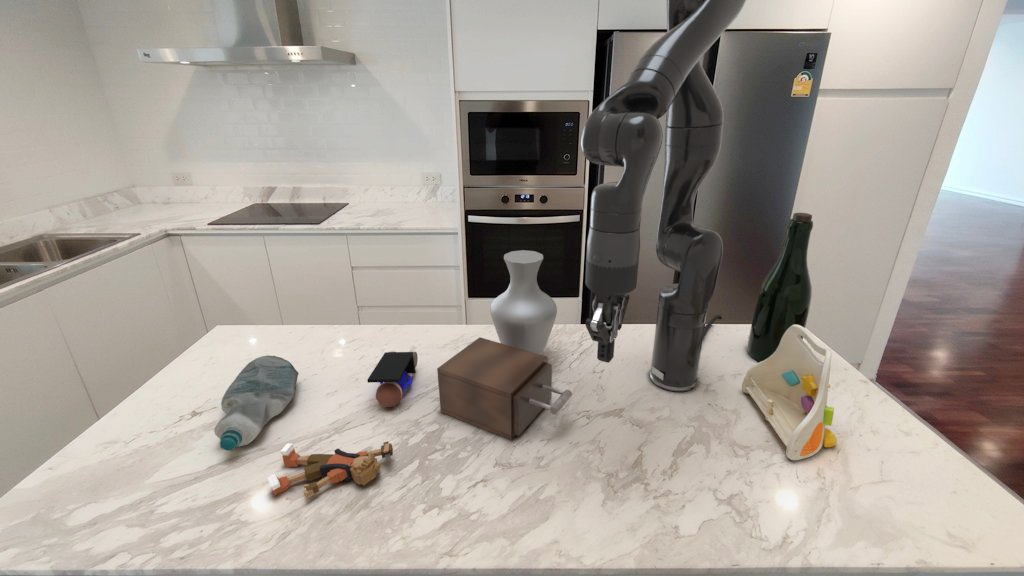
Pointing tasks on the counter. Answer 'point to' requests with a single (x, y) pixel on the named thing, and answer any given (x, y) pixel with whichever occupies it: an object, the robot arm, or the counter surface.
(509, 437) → the cabinet
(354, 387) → the counter surface
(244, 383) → the plastic water bottle
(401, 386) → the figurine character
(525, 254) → the vase
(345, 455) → the character figurine
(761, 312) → the green wine bottle
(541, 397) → the drawer
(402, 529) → the counter surface
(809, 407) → the shape sorter
